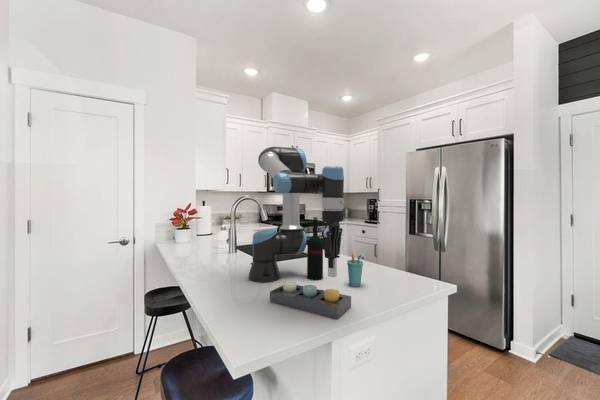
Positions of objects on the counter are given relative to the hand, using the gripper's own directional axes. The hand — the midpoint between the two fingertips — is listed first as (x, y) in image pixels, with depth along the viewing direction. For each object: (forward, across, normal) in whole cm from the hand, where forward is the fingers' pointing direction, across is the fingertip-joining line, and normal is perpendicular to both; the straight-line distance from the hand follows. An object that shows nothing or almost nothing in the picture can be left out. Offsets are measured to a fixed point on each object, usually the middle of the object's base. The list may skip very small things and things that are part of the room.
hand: (332, 276), depth 99 cm
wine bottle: (+12, +31, +24) cm, 41 cm away
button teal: (+9, 0, +9) cm, 13 cm away
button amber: (+9, 0, 0) cm, 9 cm away
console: (+12, 0, +9) cm, 15 cm away
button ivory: (+9, 0, +18) cm, 20 cm away
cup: (+12, +30, +2) cm, 33 cm away
